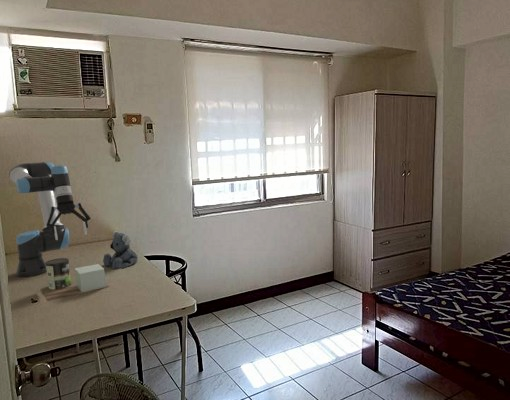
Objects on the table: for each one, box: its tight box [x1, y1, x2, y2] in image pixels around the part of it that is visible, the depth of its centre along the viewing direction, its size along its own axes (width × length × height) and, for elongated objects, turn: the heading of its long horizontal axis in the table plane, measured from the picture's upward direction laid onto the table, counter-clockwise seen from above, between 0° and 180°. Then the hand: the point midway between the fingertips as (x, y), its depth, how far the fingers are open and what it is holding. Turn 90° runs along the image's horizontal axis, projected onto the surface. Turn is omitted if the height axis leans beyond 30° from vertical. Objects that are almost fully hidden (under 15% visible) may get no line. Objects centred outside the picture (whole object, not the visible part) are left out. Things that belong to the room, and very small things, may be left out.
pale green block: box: [74, 263, 107, 293], centre depth 196 cm, size 11×11×9 cm
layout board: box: [43, 283, 110, 302], centre depth 193 cm, size 13×27×2 cm, turn 124°
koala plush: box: [102, 230, 139, 270], centre depth 237 cm, size 17×18×20 cm
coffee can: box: [45, 257, 72, 290], centre depth 199 cm, size 10×10×14 cm
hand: (71, 237), depth 202 cm, fingers open, 13 cm apart
